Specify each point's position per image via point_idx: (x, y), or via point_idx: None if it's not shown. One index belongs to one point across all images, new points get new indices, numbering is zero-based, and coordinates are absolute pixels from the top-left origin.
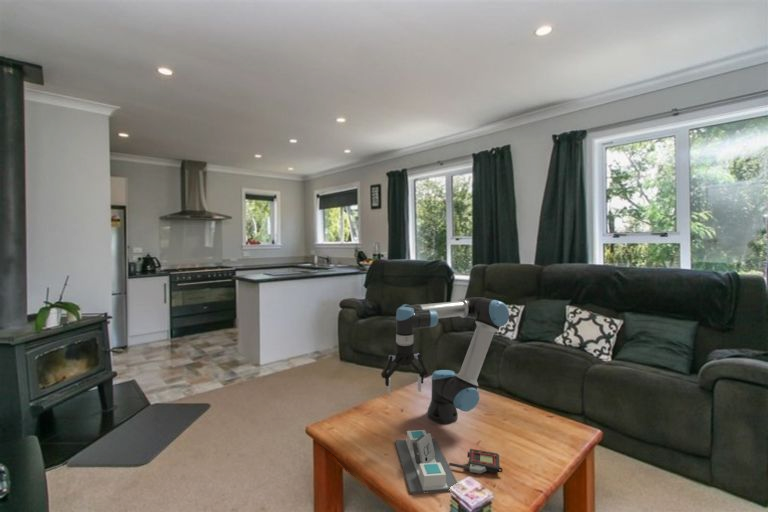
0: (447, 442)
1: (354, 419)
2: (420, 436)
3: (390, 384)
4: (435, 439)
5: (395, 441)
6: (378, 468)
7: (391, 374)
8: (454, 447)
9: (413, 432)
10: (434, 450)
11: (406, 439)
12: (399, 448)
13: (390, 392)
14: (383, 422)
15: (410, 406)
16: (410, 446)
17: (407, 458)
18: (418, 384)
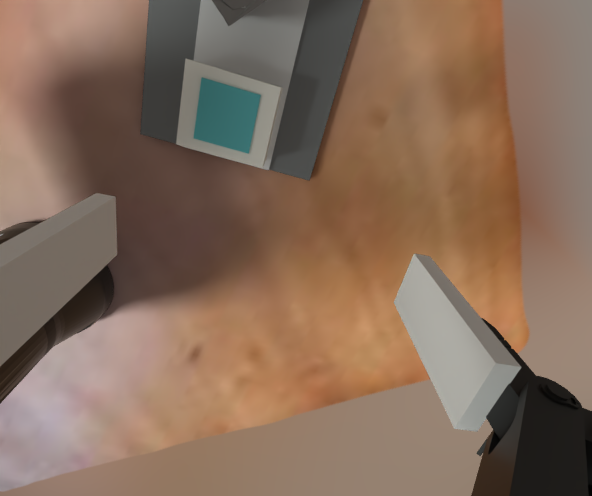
0: (94, 97)
1: (376, 353)
2: (246, 13)
3: (459, 312)
4: (141, 123)
5: (311, 173)
6: (458, 31)
7: (530, 436)
8: (74, 47)
9: (240, 141)
10: (178, 42)
11: (266, 163)
12: (319, 119)
13: (420, 262)
14: (291, 309)
15: (155, 365)
16: (281, 87)
17: (322, 31)
18: (80, 260)
